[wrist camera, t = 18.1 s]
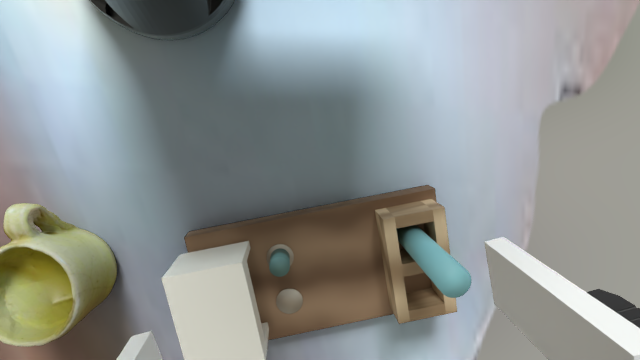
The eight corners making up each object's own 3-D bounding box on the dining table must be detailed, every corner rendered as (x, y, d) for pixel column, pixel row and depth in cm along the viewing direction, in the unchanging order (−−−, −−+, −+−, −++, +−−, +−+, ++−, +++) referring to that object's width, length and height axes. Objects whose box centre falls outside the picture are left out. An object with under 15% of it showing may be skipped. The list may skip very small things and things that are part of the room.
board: (189, 231, 41) (173, 250, 35) (428, 184, 42) (448, 196, 36) (217, 340, 43) (207, 373, 38) (442, 293, 44) (463, 319, 39)
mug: (131, 326, 40) (43, 367, 30) (51, 308, 42) (-55, 340, 33) (146, 209, 40) (64, 213, 31) (66, 197, 43) (-34, 197, 33)
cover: (179, 254, 39) (161, 278, 33) (248, 240, 39) (242, 262, 33) (203, 342, 41) (189, 379, 35) (269, 328, 41) (265, 363, 35)
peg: (392, 223, 40) (436, 270, 28) (415, 218, 40) (469, 263, 28) (396, 245, 41) (440, 301, 29) (419, 240, 41) (473, 293, 29)
